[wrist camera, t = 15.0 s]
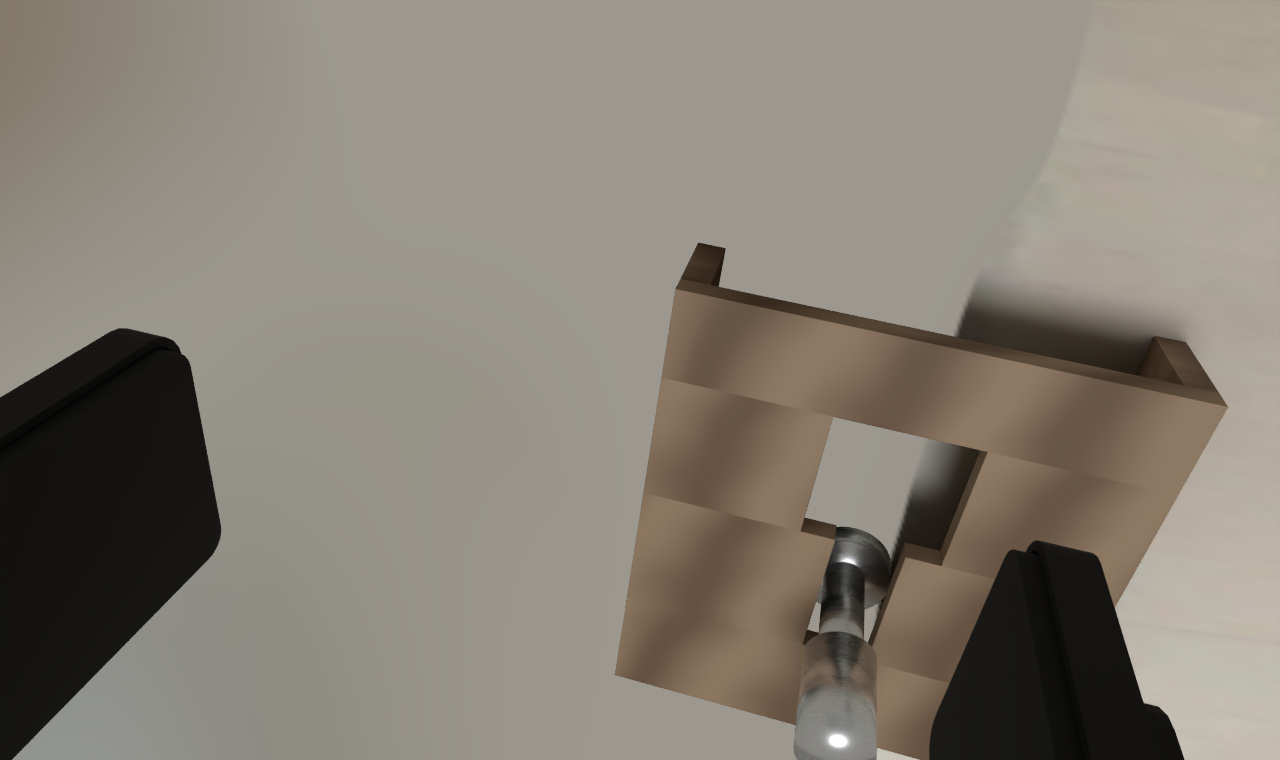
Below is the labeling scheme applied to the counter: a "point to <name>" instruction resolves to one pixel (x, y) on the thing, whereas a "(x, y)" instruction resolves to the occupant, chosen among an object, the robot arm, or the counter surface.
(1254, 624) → the counter surface
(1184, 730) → the counter surface
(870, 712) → the keyhole bolt
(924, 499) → the counter surface
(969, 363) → the keyhole plate
